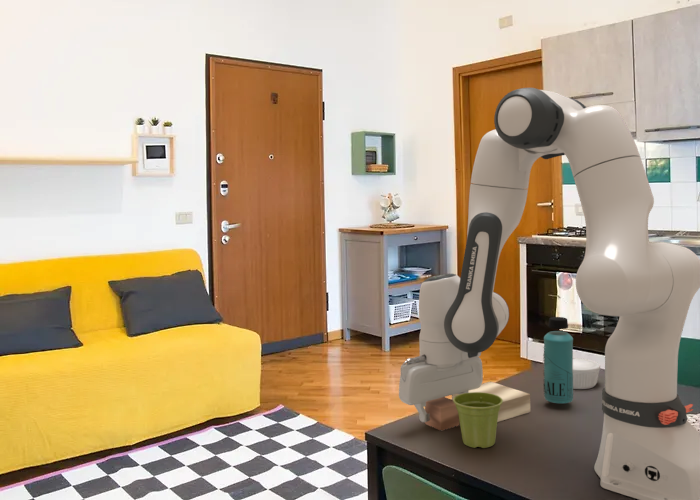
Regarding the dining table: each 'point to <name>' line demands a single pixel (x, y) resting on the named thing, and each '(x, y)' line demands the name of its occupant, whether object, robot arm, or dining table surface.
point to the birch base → (506, 399)
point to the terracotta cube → (442, 413)
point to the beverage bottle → (558, 363)
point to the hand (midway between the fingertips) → (442, 416)
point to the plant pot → (478, 417)
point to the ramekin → (585, 373)
